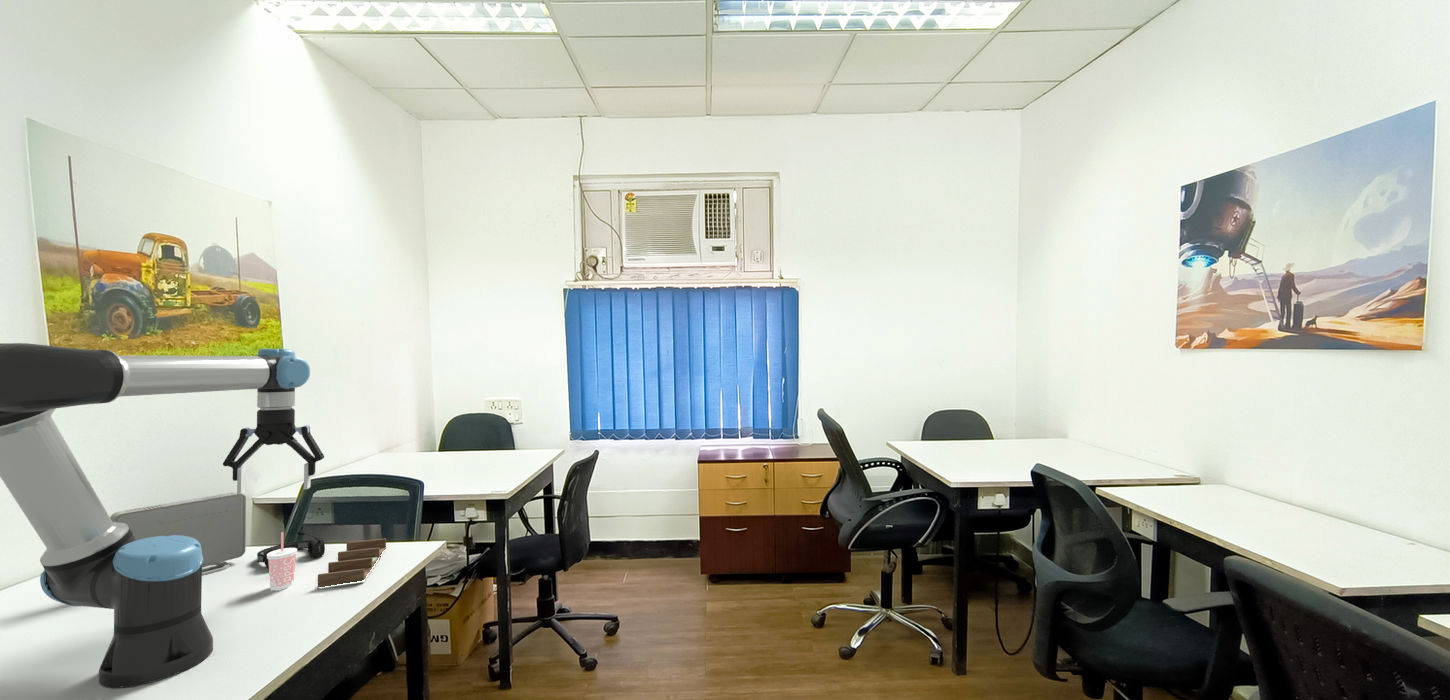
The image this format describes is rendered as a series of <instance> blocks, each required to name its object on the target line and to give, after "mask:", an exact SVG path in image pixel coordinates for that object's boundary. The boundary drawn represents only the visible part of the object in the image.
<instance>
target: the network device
mask: <svg viewBox="0 0 1450 700" xmlns="http://www.w3.org/2000/svg"><path fill="white" fill-rule="evenodd" d="M246 498H247V497H246V495H245V494H244V493H242V494H238V495H237V491H233V492H228V493H221V494H216V495H209V496H204V497H203V496H202V497H197V498H191V499H185V500H178V501H173V502H167V503H161V504H156V505H150V506H149V505H148V506H144V507H142V506H141V507H138V508H133V509H132V508H131V509H125V510H120V511H119V510H118V511H116V512H114V513H112V514H110V516H109V517H110V519H111V520H112V522H118V523H125V524H127V525H128V527H129V528H130V530H131V532H132V533H133V535H134V537H135V539H136V540H140V539H145V538H150V537H156V536H172V535H179V536H187V537H191V538H194V539H196V540H197V541H198V542H199V543H200V545H201V550H202V556H203V562H202V568H205V567H209V566H215V565H219V566H221V567H219V568H214V569H211V570H206V571H202V577H203V576H207V575H211V574H216V573H219V572H222V571H226V570H227V569H229V568H230V567H231V564H230V563H229V562H227V561H231V560H235V559H239V558H241V557H242V556H244V554H245V553H246V540H247V539H246V536H247V535H246V530H247V529H246V526H247V525H246V520H247V519H246V518H247V516H246V515H247V514H246V513H247V511H246V510H247V506H246V504H247V499H246Z"/></svg>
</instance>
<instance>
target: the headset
mask: <svg viewBox="0 0 1450 700" xmlns="http://www.w3.org/2000/svg"><path fill="white" fill-rule="evenodd" d="M297 535H299V536H305V535H306V536H308V537H311V538H310V539H309V540H299V541H291V542H287V543H286V542H285V543H283V548H297V551H299V550H306V549H307V553H308V556H309V558H310V557H311V558H310V559H315V558H318V556H319V557H323V556H324V555H325V553H326V552H325V550H326V547H325V540H324V539H323V538H322V537H316V536H314V535H311V534H308V533H306V532H304V531H298V532H297ZM278 549H281V544H277V545H273V546H270V547H267V548H264V549H262V550H259V551H258V552H257V554H256V556H257V557H256V560H257V562H258V563H264V565H265V567H266V568H267V569H269V562H268V559H267V554H268V553H269V552H272V551H275V550H278ZM322 555H323V556H322Z"/></svg>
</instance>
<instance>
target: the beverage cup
mask: <svg viewBox="0 0 1450 700" xmlns="http://www.w3.org/2000/svg"><path fill="white" fill-rule="evenodd" d="M280 535H281V536H280V545H281V549H278V550H275V551H272V552H269V553H268V554H267V559H268V562H269V568H268V572H269V573H268V574H269V575H268V576H269V584H270V585H269V587H270V588H269V589H270V591H272V590H279V591H282V590H281V589H284V590H286V589H285V588H287V589H289V588H288V587H290V586H292V585H293V586H294V583H295V582H294V580H295V579H294V578H295V569H296V567H295V566H296V556H297V554H298V550H297V548H283V544H284V531H283V532H282V531H281V532H280ZM293 586H292V587H293ZM290 588H291V587H290Z"/></svg>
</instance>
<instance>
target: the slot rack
mask: <svg viewBox="0 0 1450 700" xmlns="http://www.w3.org/2000/svg"><path fill="white" fill-rule="evenodd" d="M385 549H386V550H387V538H385V537H384V538H377V539H376V538H374V539H368V540H367V539H366V540H365V539H364V540H358V541H349V542H346V550H343V551H338V552H337V561H331V562H330V561H329V562H328V565H327V566H328V568H327V569H328V570H327V571H328V572H324V573H318V574H317V588H318V587H325V586H331V585H337V584H343V583H350V582H357V581H362V580H364V579H365V578H366V576H367V574H368V573H369V572H370V570H371V569H372V567H373V566H374V564H375V563H376V561H377V560H378V558H379V557H380V555H381V554H382V552H383V551H384V550H385Z"/></svg>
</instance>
